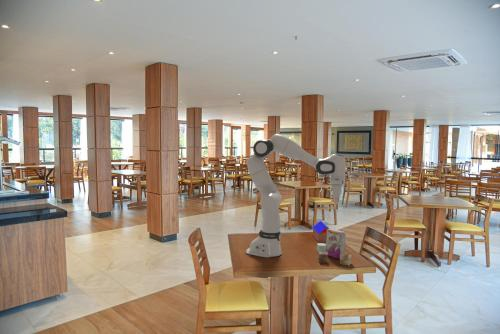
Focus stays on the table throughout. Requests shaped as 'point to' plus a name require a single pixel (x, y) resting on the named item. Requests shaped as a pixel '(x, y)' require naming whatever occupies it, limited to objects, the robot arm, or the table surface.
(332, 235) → the candy bar box
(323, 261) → the walnut cube
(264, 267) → the table surface
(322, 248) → the sage cube
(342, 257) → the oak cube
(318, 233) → the house
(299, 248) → the table surface
